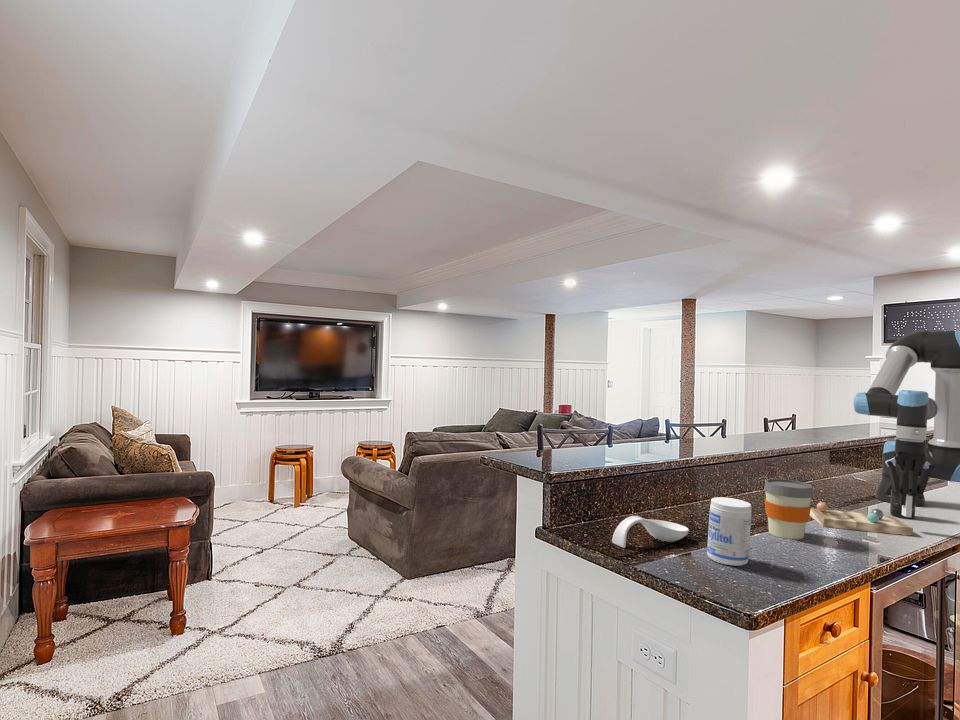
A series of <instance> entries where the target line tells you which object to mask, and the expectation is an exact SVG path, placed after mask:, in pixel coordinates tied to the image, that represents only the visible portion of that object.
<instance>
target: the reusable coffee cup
mask: <svg viewBox="0 0 960 720" xmlns="http://www.w3.org/2000/svg"><path fill="white" fill-rule="evenodd" d="M763 491H764V492H765V498H764V507H765V509H764V510H765V515H766V517H767V524H768V525H767V526H768V532H769V534H771V535H772V536H775V537H777V538H782V539H789V540H802V539H804V537H805V531H806V527H807V523H808V522H809V520H810V517H811V516H810V510H811V508H812V504H811V502H812V498H813V496H814V492H813V485H811V484H809V483H806V482H803V481H798V480H791V479H787V478H786V479H784V478H767V479H765V482H764V488H763Z"/></svg>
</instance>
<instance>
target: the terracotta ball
mask: <svg viewBox="0 0 960 720" xmlns="http://www.w3.org/2000/svg"><path fill="white" fill-rule="evenodd" d="M816 509H818V510H819V511H822V512H824V511H826V510H828V505H827V503H825V502H824V501H820V502H818V503H817V504H816Z"/></svg>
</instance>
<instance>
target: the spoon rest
mask: <svg viewBox="0 0 960 720" xmlns="http://www.w3.org/2000/svg"><path fill="white" fill-rule="evenodd" d="M638 523H640V524H641V525H642V526H643V527H644V528H645V530H646V531H647V532H648V533H649V535H650V536H651V537H652V536H653V537H654V538H655V540H656V539H658V540H657V541H659V540H661V541H660V542H664V541H666V542H667V543H674V542H676V541H680V540H681V539H683V538H685V537H686V536H687V535H688V533H689V532H690V530H689V528H688V527H687V526H685V525H682V524H680V523H676V522H671V521H667V520H663V519H662V520H660V519H650V518H649V519H648V518H647V519H646V518H643V517H642V516H640V515H631V516H627V517H626V518H625V519H623V520H622V521H621V522H619V524H618V525H617V526H616V528H615V529H614V532H613V535H612V539H611V543H612V544H614V545H616V546H618V547H621V548H623V549H625V548H626V545H627V535H628V533H629V529H630V528H632V526H634V525H635V524H638ZM653 537H652V538H653ZM654 538H653V539H654Z"/></svg>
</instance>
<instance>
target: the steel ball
mask: <svg viewBox="0 0 960 720" xmlns="http://www.w3.org/2000/svg"><path fill="white" fill-rule="evenodd" d="M871 512H873V513H876V514H877V515H878V516H879V519H882V518H883V515H884V512H883V511H882V510H881V509H879V508H875V509H874V508H873V509H872V510H871ZM871 512H870V513H871Z"/></svg>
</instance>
